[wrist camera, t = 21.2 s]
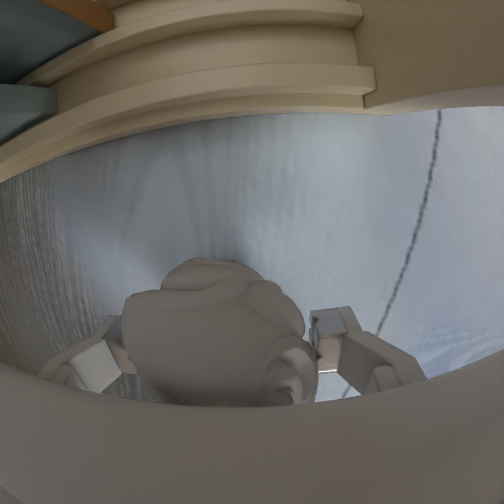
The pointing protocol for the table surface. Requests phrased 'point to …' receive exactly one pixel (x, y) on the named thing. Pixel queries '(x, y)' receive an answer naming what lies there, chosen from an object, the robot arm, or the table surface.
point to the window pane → (45, 32)
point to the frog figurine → (219, 339)
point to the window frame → (252, 68)
